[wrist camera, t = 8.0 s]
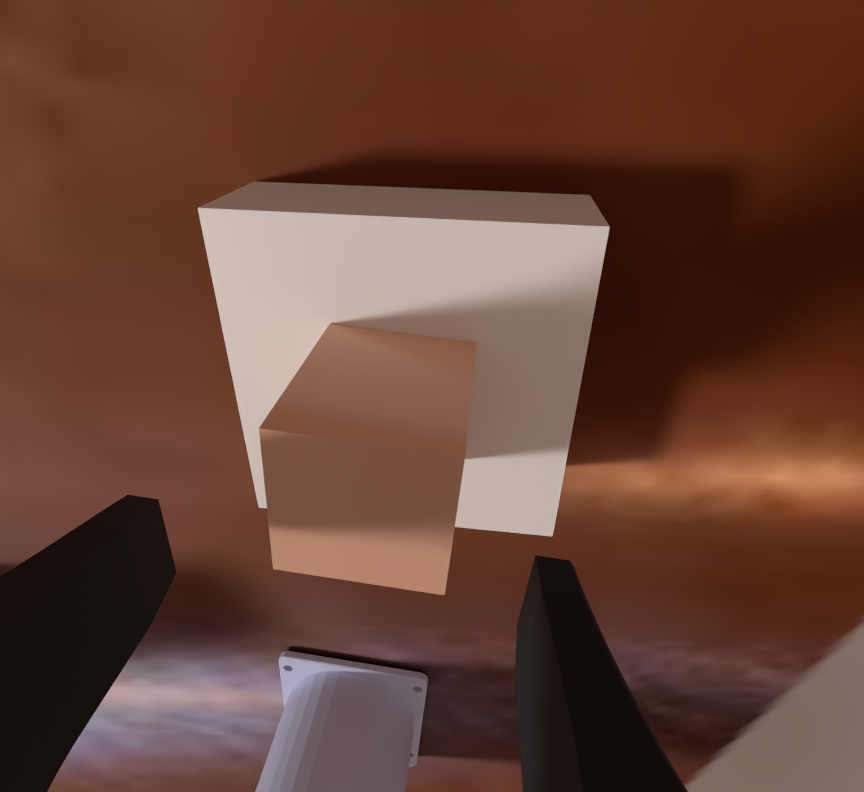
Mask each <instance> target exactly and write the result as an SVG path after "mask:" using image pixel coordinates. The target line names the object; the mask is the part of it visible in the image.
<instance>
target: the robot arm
mask: <svg viewBox="0 0 864 792" xmlns="http://www.w3.org/2000/svg"><path fill="white" fill-rule="evenodd" d="M175 574H176V569H175V565H174V561H173V557H172V553H171V549H170V545H169V541H168V537H167V533H166V529H165V525H164V521H163V517H162V513H161V509H160V505H159V501H158V499H152V498H145V497H138V496H132V495H127V496H125V497H124V498H122V499H120V500H119V501H117V502H115V503H114V504H112V505H111V506H109V507H108V508H106V509H104V510H103V511H101V512H100V513H98V514H97V515H95V516H94V517H92V518H91V519H89V520H88V521H86V522H85V523H83V524H81V525H80V526H78V527H77V528H75V529H74V530H72V531H71V532H69V533H68V534H66V535H65V536H63V537H62V538H60V539H59V540H57V541H56V542H54V543H52V544H51V545H49V546H48V547H46V548H45V549H43V550H42V551H40V552H38V553H37V554H35V555H34V556H32V557H31V558H29V559H28V560H26V561H24V562H23V563H21V564H20V565H18V566H17V567H15V568H14V569H12V570H10V571H9V572H7V573H6V574H4V575H3V576H1V577H0V792H47V791H48V789H49V787H50V785H51V783H52V781H53V780H54V778H55V776H56V774H57V772H58V770H59V768H60V767H61V765H62V763H63V762H64V760H65V758H66V757H67V755H68V753H69V752H70V750H71V748H72V747H73V745H74V743H75V742H76V740H77V739H78V737H79V736H80V734H81V732H82V731H83V729H84V728H85V726H86V725H87V723H88V722H89V720H90V718H91V717H92V715H93V714H94V712H95V711H96V709H97V708H98V706H99V705H100V703H101V701H102V700H103V698H104V697H105V695H106V694H107V692H108V691H109V689H110V688H111V686H112V684H113V683H114V681H115V680H116V678H117V677H118V675H119V674H120V672H121V671H122V669H123V667H124V666H125V664H126V663H127V661H128V660H129V658H130V656H131V655H132V653H133V652H134V650H135V649H136V647H137V645H138V644H139V642H140V641H141V639H142V638H143V636H144V634H145V633H146V631H147V630H148V628H149V626H150V625H151V623H152V621H153V619H154V617H155V615H156V613H157V611H158V609H159V607H160V605H161V603H162V601H163V599H164V597H165V595H166V593H167V591H168V589H169V586H170V584H171V582H172V580H173V578H174V576H175ZM279 667H280V676H281V685H282V693H283V702H284V711H283V714H282V716H281V719H280V722H279V725H278V728H277V731H276V734H275V737H274V740H273V742H272V745H271V748H270V751H269V754H268V757H267V760H266V763H265V766H264V768H263V771H262V774H261V777H260V780H259V783H258V786H257V789H256V792H405V790H406V782H407V775H408V768H409V767H412V766H415V765H416V763H417V756H418V749H419V742H420V735H421V727H422V720H423V713H424V706H425V699H426V691H427V684H428V677H427V676H426V675H425V674H423V673H421V672H415V671H409V670H403V669H397V668H391V667H385V666H379V665H372V664H366V663H360V662H354V661H348V660H342V659H336V658H330V657H323V656H317V655H311V654H305V653H299V652H293V651H284V652H282V653H281V655H280V658H279ZM515 683H516V698H517V712H518V727H519V741H520V754H521V768H522V781H523V792H688V791H687V789H686V788H685V786H684V785H683V783H682V781H681V780H680V778H679V777H678V775H677V773H676V772H675V770H674V768H673V767H672V765H671V763H670V762H669V760H668V758H667V756H666V755H665V753H664V751H663V750H662V748H661V746H660V745H659V743H658V741H657V739H656V737H655V736H654V734H653V732H652V730H651V728H650V727H649V725H648V723H647V721H646V720H645V718H644V716H643V714H642V712H641V711H640V709H639V707H638V705H637V703H636V701H635V699H634V697H633V696H632V694H631V692H630V690H629V688H628V686H627V684H626V682H625V680H624V678H623V676H622V674H621V672H620V670H619V668H618V666H617V664H616V662H615V660H614V658H613V656H612V654H611V652H610V650H609V648H608V646H607V644H606V642H605V639H604V637H603V635H602V633H601V631H600V629H599V626H598V624H597V622H596V620H595V617H594V615H593V613H592V611H591V608H590V606H589V604H588V601H587V599H586V597H585V594H584V592H583V589H582V587H581V584H580V582H579V579H578V577H577V574H576V571H575V568H574V566H573V565H572V563H571V562H570V561H569V560H562V559H555V558H549V557H542V556H535V560H534V564H533V567H532V571H531V575H530V578H529V582H528V586H527V590H526V593H525V597H524V601H523V605H522V608H521V612H520V616H519V620H518V623H517V641H516V679H515Z"/></svg>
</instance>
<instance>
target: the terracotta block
mask: <svg viewBox="0 0 864 792" xmlns="http://www.w3.org/2000/svg"><path fill="white" fill-rule="evenodd" d="M476 345H477V342H471V341H463V340H455V339H448V338H440V337H432V336H424V335H417V334H409V333H401V332H393V331H385V330H377V329H370V328H362V327H354V326H346V325H338V324H329V326H328V327H327V329H326V330H325V331H324V333H323V334H322V336H321V337H320V339H319V340H318V342H317V343H316V345H315V346H314V348H313V349H312V351H311V352H310V354H309V355H308V356H307V358H306V359H305V361H304V362H303V364H302V365H301V367H300V368H299V370H298V371H297V373H296V374H295V376H294V377H293V379H292V380H291V382H290V383H289V384H288V386H287V387H286V389H285V390H284V392H283V393H282V395H281V396H280V398H279V399H278V401H277V402H276V404H275V405H274V407H273V408H272V409H271V411H270V412H269V414H268V415H267V417H266V418H265V420H264V421H263V423H262V424H261V426H260V427H259V436H260V446H261V455H262V465H263V475H264V484H265V494H266V504H267V513H268V523H269V533H270V542H271V552H272V562H273V569H276V570H283V571H289V572H296V573H302V574H309V575H315V576H322V577H328V578H335V579H342V580H348V581H355V582H361V583H368V584H374V585H381V586H387V587H394V588H400V589H407V590H414V591H420V592H427V593H433V594H440V595H445V589H446V582H447V576H448V569H449V562H450V555H451V549H452V542H453V535H454V528H455V522H456V515H457V508H458V501H459V495H460V488H461V481H462V474H463V468H464V461H465V453H466V443H467V433H468V424H469V414H470V404H471V394H472V385H473V375H474V365H475V355H476Z"/></svg>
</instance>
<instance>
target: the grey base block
mask: <svg viewBox="0 0 864 792" xmlns="http://www.w3.org/2000/svg"><path fill="white" fill-rule="evenodd" d="M198 212H199V217H200V222H201V227H202V231H203V236H204V241H205V246H206V251H207V256H208V261H209V266H210V271H211V276H212V281H213V285H214V290H215V295H216V300H217V305H218V310H219V315H220V320H221V325H222V330H223V334H224V339H225V344H226V349H227V354H228V359H229V364H230V369H231V374H232V379H233V384H234V388H235V393H236V398H237V403H238V408H239V413H240V418H241V423H242V428H243V433H244V438H245V442H246V447H247V452H248V457H249V462H250V467H251V472H252V477H253V482H254V487H255V491H256V496H257V501H258V506H259V508H267V504H266V494H265V484H264V475H263V465H262V455H261V446H260V436H259V427H260V426H261V424H262V423H263V421H264V420H265V418H266V417H267V415H268V414H269V412H270V411H271V409H272V408H273V407H274V405H275V404H276V402H277V401H278V399H279V398H280V396H281V395H282V393H283V392H284V390H285V389H286V387H287V386H288V384H289V383H290V382H291V380H292V379H293V377H294V376H295V374H296V373H297V371H298V370H299V368H300V367H301V365H302V364H303V362H304V361H305V359H306V358H307V356H308V355H309V354H310V352H311V351H312V349H313V348H314V346H315V345H316V343H317V342H318V340H319V339H320V337H321V336H322V334H323V333H324V331H325V330H326V329H327V327H328V326H329V324H338V325H346V326H354V327H362V328H370V329H377V330H385V331H393V332H401V333H409V334H417V335H424V336H432V337H440V338H448V339H455V340H463V341H471V342H477V345H476V355H475V365H474V375H473V385H472V394H471V404H470V414H469V424H468V433H467V443H466V453H465V461H464V468H463V474H462V481H461V488H460V495H459V501H458V508H457V515H456V522H455V527H462V528H472V529H482V530H492V531H502V532H512V533H523V534H533V535H543V536H553V531H554V526H555V520H556V515H557V509H558V504H559V499H560V493H561V488H562V482H563V477H564V472H565V466H566V461H567V455H568V450H569V445H570V439H571V434H572V428H573V423H574V418H575V412H576V407H577V401H578V396H579V390H580V385H581V380H582V374H583V369H584V363H585V358H586V353H587V347H588V342H589V336H590V331H591V326H592V320H593V315H594V309H595V304H596V299H597V293H598V288H599V282H600V277H601V271H602V266H603V261H604V255H605V250H606V244H607V239H608V234H609V228H610V226H609V225H608V223H607V221H606V220H605V218H604V217H603V215H602V213H601V212H600V210H599V209H598V207H597V205H596V204H595V202H594V201H593V199H592V197H591V196H590V195H579V194H554V193H529V192H504V191H479V190H454V189H429V188H404V187H379V186H354V185H329V184H305V183H280V182H253V183H250V184H248V185H246V186H244V187H242V188H240V189H237V190H235V191H233V192H231V193H229V194H227V195H224V196H222V197H220V198H218V199H216V200H214V201H212V202H209V203H207V204H205V205H203V206H201V207H199V208H198Z"/></svg>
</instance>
